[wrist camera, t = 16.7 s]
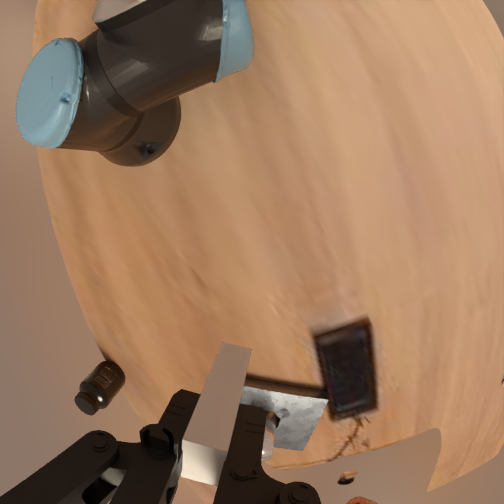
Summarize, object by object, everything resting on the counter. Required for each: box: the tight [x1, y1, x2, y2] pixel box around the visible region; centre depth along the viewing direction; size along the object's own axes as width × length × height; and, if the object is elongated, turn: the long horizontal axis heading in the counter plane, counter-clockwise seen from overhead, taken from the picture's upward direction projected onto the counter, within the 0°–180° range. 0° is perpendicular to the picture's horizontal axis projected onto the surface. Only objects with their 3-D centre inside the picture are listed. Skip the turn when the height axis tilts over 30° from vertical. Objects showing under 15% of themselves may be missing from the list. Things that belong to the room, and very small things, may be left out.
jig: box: [240, 377, 328, 451], centre depth 47 cm, size 20×16×7 cm
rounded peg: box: [261, 410, 277, 461], centre depth 45 cm, size 5×5×11 cm
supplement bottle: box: [75, 361, 125, 415], centre depth 47 cm, size 7×7×12 cm
